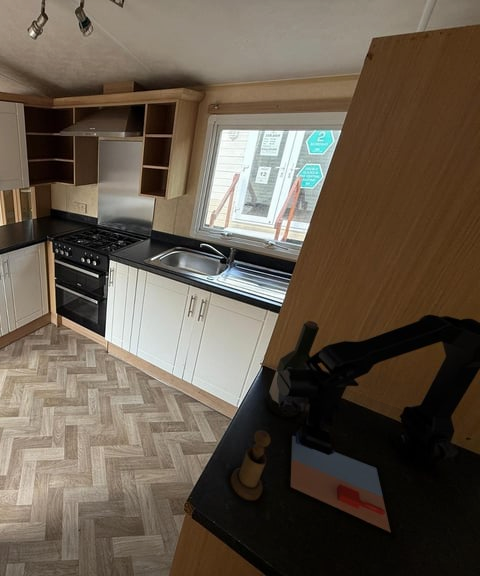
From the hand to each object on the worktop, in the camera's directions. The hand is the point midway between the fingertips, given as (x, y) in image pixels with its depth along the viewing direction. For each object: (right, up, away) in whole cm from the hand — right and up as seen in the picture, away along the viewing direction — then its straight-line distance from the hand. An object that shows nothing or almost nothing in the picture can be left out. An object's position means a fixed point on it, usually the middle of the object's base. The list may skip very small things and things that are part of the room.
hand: (304, 440), depth 79 cm
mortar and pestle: (-18, -8, -7) cm, 21 cm away
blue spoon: (+2, -1, -1) cm, 2 cm away
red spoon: (+5, -9, -10) cm, 14 cm away
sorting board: (+4, -7, -5) cm, 9 cm away
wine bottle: (+3, +3, +15) cm, 15 cm away
